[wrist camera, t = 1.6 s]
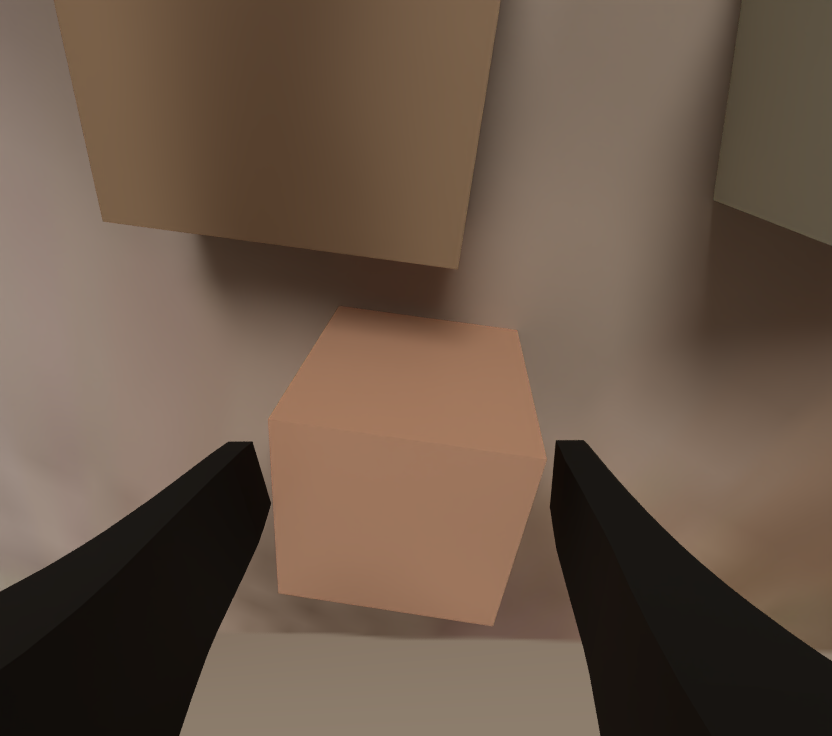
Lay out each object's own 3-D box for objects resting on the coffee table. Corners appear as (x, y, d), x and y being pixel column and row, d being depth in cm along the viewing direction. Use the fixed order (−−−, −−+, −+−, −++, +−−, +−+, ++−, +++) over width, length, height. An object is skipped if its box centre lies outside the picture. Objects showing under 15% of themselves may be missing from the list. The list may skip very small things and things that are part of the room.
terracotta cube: (516, 329, 13) (547, 459, 8) (484, 465, 16) (493, 626, 11) (339, 304, 13) (267, 418, 8) (335, 444, 16) (278, 593, 11)
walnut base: (519, -161, 9) (549, -307, 5) (459, 227, 12) (457, 269, 9) (143, -204, 9) (-28, -367, 6) (192, 191, 12) (103, 221, 9)
